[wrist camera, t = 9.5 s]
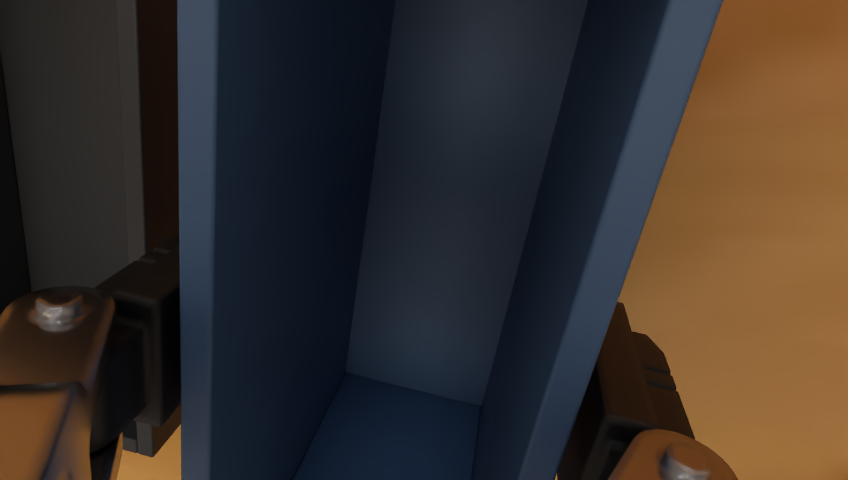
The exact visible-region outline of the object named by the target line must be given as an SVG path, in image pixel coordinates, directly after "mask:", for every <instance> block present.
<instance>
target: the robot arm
mask: <svg viewBox="0 0 848 480" xmlns="http://www.w3.org/2000/svg"><path fill="white" fill-rule="evenodd" d="M180 404H181V366H180V255H179V235H175V236H172V237H170V238H169V239H167V240H166V241H164V242H163V243H161V244H160V245H158V246H157V247H155V248H154V251H149V252H147V253H146V254H144V255H143V256H141V257H140V259H139V261H137V260H135V261H134V262H132V263H131V264H129V265H128V266H126V267H125V268H123V269H122V270H120V271H119V272H117V273H116V274H114V275H113V276H111V277H110V278H108V279H107V280H105V281H103V282H102V283H100V284H99V285H97V286H96V287H94V288H91V287H85V286H58V287H51V288H46V289H41V290H38V291H34V292H31V293H29V294H26V295H24V296H22V297H20V298H18V299H16V300H15V301H13V302H12V303H11V304H9V305H8V306H7V307H6V309H5V310H4V311H3V313H2V314H1V313H0V480H117V475H118V470H119V466H120V461H121V456H122V451H123V431H124V429H125V428H126V427H127V426H128V425H129V424H130V423H131V422H132V421H137V422H140V423H144V424H148V425H151V426H155V427H159V428H160V427H161V426H162V425H163V424H164V423H165V422H166V421H167V419H168V418H169V417H170V416H171V415H172V414H173V413H174V411H175V410H176V409H177V408H178V407H179V406H180ZM557 477H558V480H738V479H737V477H736V475H735V473H734V472H733V471H732V469H731V468H730V467H729V465H728V464H727V463H726V462H725V461H724V460H723V459H722V458H721V457H720V456H718V455H717V454H716V453H715V452H714V451H712V450H711V449H709V448H708V447H707V446H705V445H703V444H702V443H700V442H698V441H696V440H695V437H694V435H693V432H692V429H691V426H690V424H689V421H688V418H687V415H686V413H685V410H684V407H683V405H682V402H681V399H680V396H679V394H678V392H677V391H676V385H675V383H674V380H673V377H672V376H671V375H670V369H669V366H668V364H667V361H666V358H665V355H664V353H663V352H662V351H661V350H660V349H659V348H658V347H657V346H656V345H655V343H654V342H653V341H652V340H651V339H650V338H649V337H648V336H647V335H645V334H641V333H637V332H632V331H631V328H630V325H629V321H628V318H627V314H626V311H625V308H624V305H623V303H621V302H617V304H616V307H615V309H614V312H613V315H612V318H611V321H610V324H609V326H608V329H607V332H606V335H605V338H604V341H603V343H602V346H601V349H600V352H599V355H598V358H597V361H596V363H595V366H594V369H593V372H592V375H591V378H590V380H589V383H588V386H587V389H586V392H585V395H584V397H583V400H582V403H581V406H580V409H579V412H578V415H577V417H576V420H575V423H574V426H573V429H572V432H571V434H570V437H569V440H568V443H567V446H566V449H565V451H564V454H563V457H562V460H561V463H560V466H559V469H558V471H557Z"/></svg>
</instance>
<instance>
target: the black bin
mask: <svg viewBox="0 0 848 480" xmlns="http://www.w3.org/2000/svg"><path fill="white" fill-rule="evenodd" d="M175 235H179V144H178V33H177V0H0V313H1V314H2V313H3V311H4V310H5V309H6V307H7V306H8V305H9V304H11V303H12V302H13V301H15V300H16V299H18V298H20V297H22V296H24V295H26V294H29V293H31V292H34V291H38V290H41V289H46V288H51V287H58V286H85V287H91V288H94V287H96V286H97V285H99V284H100V283H102V282H103V281H105V280H107V279H108V278H110V277H111V276H113V275H114V274H116V273H117V272H119V271H120V270H122V269H123V268H125V267H126V266H128V265H129V264H131V263H132V262H134V261H135V260H137V261H139V259H140V257H141V256H143V255H144V254H146V253H147V252H149V251H154V248H155V247H157V246H158V245H160V244H161V243H163V242H164V241H166V240H167V239H169V238H170V237H172V236H175ZM180 424H181V404H180V406H179V407H178V408H177V409H176V410H175V411H174V413H173V414H172V415H171V416H170V417H169V418H168V419H167V421H166V422H165V423H164V424H163V425H162V426H161V427H160V428H159V427H155V426H151V425H148V424H144V423H140V422H137V421H132V422H131V423H130V424H129V425H128V426H127V427H126V428H125V429H124V431H123V450H127V451H131V452H134V453H137V452H138V453H139V454H142V455H145V456H149V457H154V456H155V454H156V453H157V452H158V451H159V450H160V448H161V447H162V446H163V445H164V444H165V442H166V441H167V440H168V439H169V437H170V436H171V435H172V434H173V433H174V431H175V430H176V429H177V428H178V427H179V425H180Z"/></svg>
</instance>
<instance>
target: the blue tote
mask: <svg viewBox="0 0 848 480" xmlns="http://www.w3.org/2000/svg"><path fill="white" fill-rule="evenodd" d="M722 2H723V0H177V33H178V144H179V255H180V366H181V477H182V480H555V477H556V474H557V471H558V469H559V466H560V463H561V460H562V457H563V454H564V451H565V449H566V446H567V443H568V440H569V437H570V434H571V432H572V429H573V426H574V423H575V420H576V417H577V415H578V412H579V409H580V406H581V403H582V400H583V397H584V395H585V392H586V389H587V386H588V383H589V380H590V378H591V375H592V372H593V369H594V366H595V363H596V361H597V358H598V355H599V352H600V349H601V346H602V343H603V341H604V338H605V335H606V332H607V329H608V326H609V324H610V321H611V318H612V315H613V312H614V309H615V307H616V304H617V301H618V298H619V295H620V292H621V289H622V287H623V284H624V281H625V278H626V275H627V272H628V270H629V267H630V264H631V261H632V258H633V255H634V253H635V250H636V247H637V244H638V241H639V238H640V235H641V233H642V230H643V227H644V224H645V221H646V218H647V216H648V213H649V210H650V207H651V204H652V201H653V199H654V196H655V193H656V190H657V187H658V184H659V181H660V179H661V176H662V173H663V170H664V167H665V164H666V162H667V159H668V156H669V153H670V150H671V147H672V145H673V142H674V139H675V136H676V133H677V130H678V127H679V125H680V122H681V119H682V116H683V113H684V110H685V108H686V105H687V102H688V99H689V96H690V93H691V91H692V88H693V85H694V82H695V79H696V76H697V73H698V71H699V68H700V65H701V62H702V59H703V56H704V54H705V51H706V48H707V45H708V42H709V39H710V36H711V34H712V31H713V28H714V25H715V22H716V19H717V17H718V14H719V11H720V8H721V5H722Z"/></svg>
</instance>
